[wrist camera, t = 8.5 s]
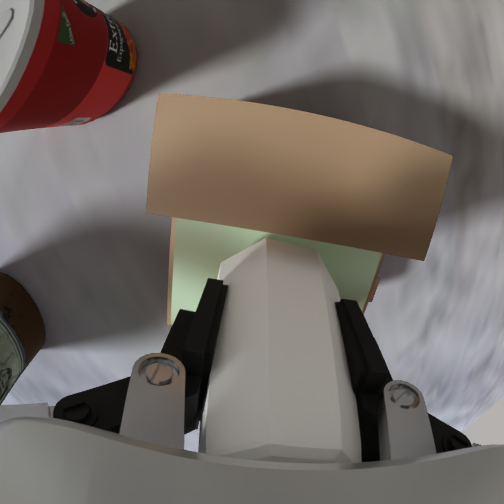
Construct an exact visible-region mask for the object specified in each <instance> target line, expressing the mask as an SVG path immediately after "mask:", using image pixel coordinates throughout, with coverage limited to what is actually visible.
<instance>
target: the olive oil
mask: <svg viewBox="0 0 504 504" xmlns="http://www.w3.org/2000/svg"><path fill="white" fill-rule="evenodd" d="M44 341H45V330H44V325H43V321H42V318H41V316H40V313H39V311H38V309H37V307H36V305H35V304H34V302H33V300H32V299H31V297H30V296H29V295H28V293H27V292H26V291H25V290H24V289H23V288H22V286H21V285H20V284H18V283H17V282H16V281H15V280H14V279H12V278H11V277H9V276H7V275H5V274H3V273H0V405H1V403H2V402H3V400H4V399H5V397H6V396H7V394H8V393H9V391H10V390H11V388H12V387H13V385H14V384H15V382H16V381H17V380H18V378H19V377H20V375H21V374H22V373H23V371H24V370H25V369H26V367H27V366H28V365H29V363H30V362H31V361H32V359H33V358H34V357H35V355H36V354H37V353H38V352H39V350H40V349H41V347H42V346H43V344H44Z"/></svg>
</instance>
